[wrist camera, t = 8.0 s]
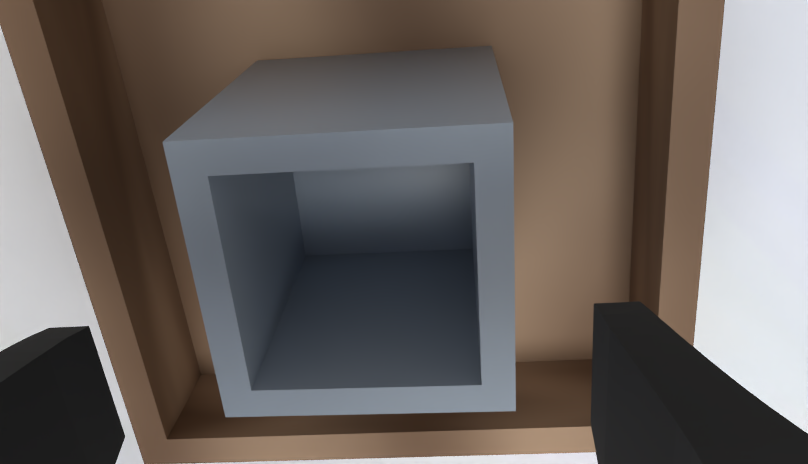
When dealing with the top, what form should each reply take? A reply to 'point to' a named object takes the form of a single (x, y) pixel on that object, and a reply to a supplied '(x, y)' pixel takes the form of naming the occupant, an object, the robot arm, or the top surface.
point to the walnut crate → (533, 192)
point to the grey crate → (354, 234)
